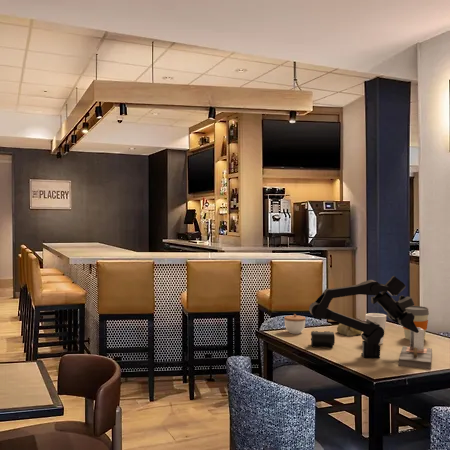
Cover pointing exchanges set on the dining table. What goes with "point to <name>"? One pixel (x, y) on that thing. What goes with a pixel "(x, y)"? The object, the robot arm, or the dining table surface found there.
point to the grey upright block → (417, 340)
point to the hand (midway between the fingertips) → (413, 330)
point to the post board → (415, 357)
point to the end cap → (322, 339)
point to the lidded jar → (294, 323)
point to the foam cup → (377, 320)
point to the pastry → (347, 330)
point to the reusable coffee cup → (417, 319)
